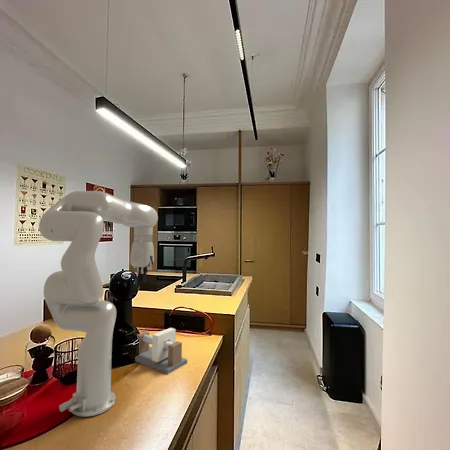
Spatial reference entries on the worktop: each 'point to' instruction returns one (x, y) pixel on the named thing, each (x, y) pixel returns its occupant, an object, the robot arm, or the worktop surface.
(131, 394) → the worktop surface
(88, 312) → the robot arm
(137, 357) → the rod rig
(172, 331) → the collar
